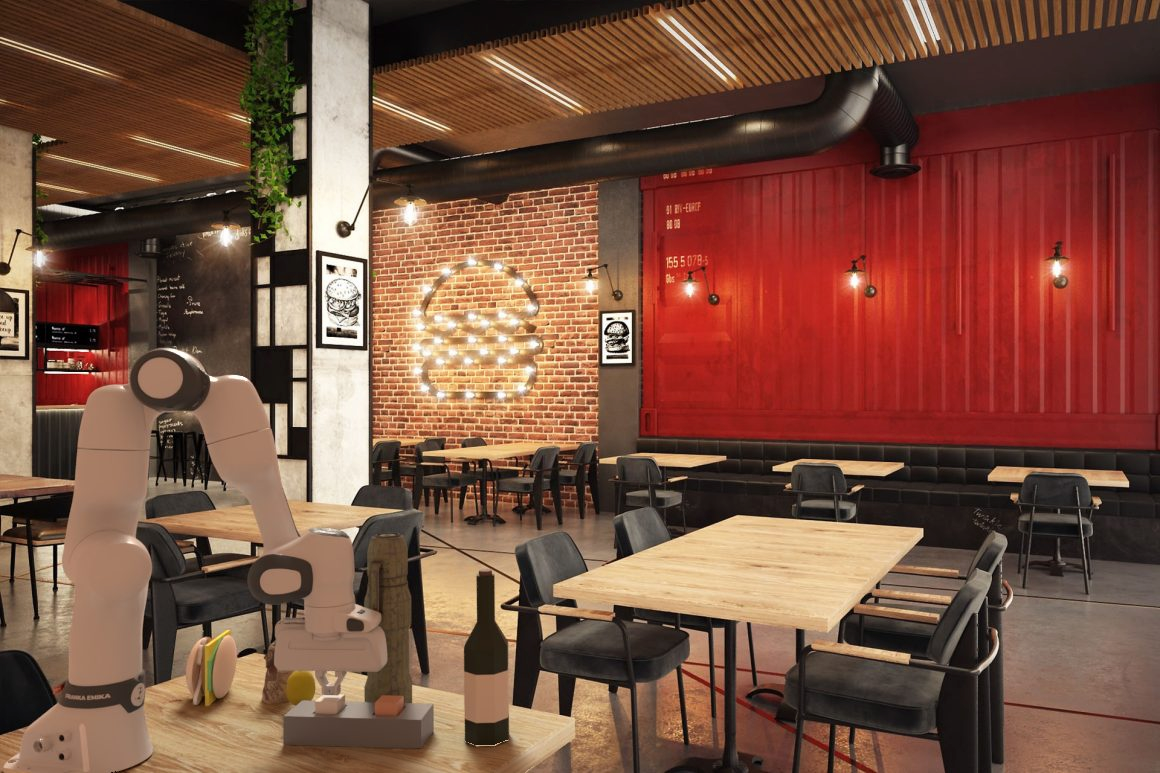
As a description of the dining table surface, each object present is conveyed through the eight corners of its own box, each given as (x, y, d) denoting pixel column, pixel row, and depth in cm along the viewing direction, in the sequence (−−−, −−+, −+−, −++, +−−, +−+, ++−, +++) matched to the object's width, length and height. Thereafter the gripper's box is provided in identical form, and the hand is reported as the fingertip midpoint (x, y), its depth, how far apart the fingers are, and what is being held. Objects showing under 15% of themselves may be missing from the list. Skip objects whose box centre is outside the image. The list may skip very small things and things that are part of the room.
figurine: (267, 692, 180) (266, 634, 180) (302, 690, 181) (301, 633, 181) (257, 704, 173) (257, 644, 173) (294, 702, 174) (293, 643, 174)
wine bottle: (498, 750, 149) (496, 576, 150) (455, 744, 152) (453, 573, 152) (518, 732, 157) (516, 567, 157) (477, 727, 160) (475, 564, 160)
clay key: (374, 722, 153) (374, 703, 153) (382, 714, 157) (382, 695, 157) (396, 723, 153) (396, 703, 153) (403, 715, 157) (403, 695, 157)
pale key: (315, 721, 154) (315, 701, 154) (324, 713, 158) (323, 693, 158) (336, 721, 154) (336, 702, 154) (345, 713, 158) (344, 694, 158)
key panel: (283, 744, 153) (283, 716, 153) (302, 727, 160) (302, 700, 161) (421, 748, 150) (421, 719, 150) (433, 731, 158) (433, 703, 158)
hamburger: (202, 686, 184) (202, 630, 185) (241, 685, 185) (241, 629, 185) (178, 706, 172) (177, 646, 173) (220, 705, 173) (219, 645, 173)
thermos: (421, 707, 170) (419, 530, 171) (400, 730, 158) (399, 539, 159) (378, 706, 171) (376, 529, 172) (354, 728, 160) (353, 539, 160)
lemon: (319, 704, 173) (319, 663, 173) (308, 714, 167) (308, 672, 168) (293, 703, 173) (293, 663, 174) (281, 713, 168) (281, 672, 168)
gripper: (267, 621, 154) (268, 699, 154) (378, 622, 152) (379, 701, 152) (282, 612, 160) (283, 687, 160) (389, 613, 158) (390, 689, 158)
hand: (331, 694), depth 156 cm, fingers closed
